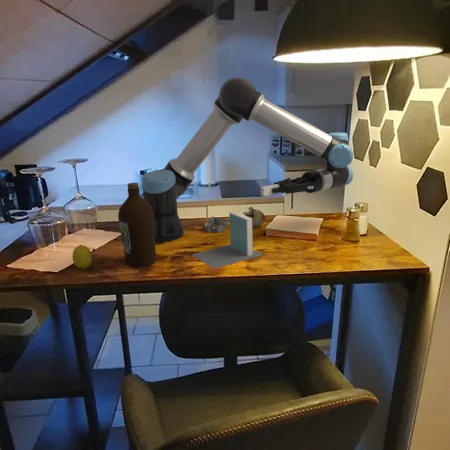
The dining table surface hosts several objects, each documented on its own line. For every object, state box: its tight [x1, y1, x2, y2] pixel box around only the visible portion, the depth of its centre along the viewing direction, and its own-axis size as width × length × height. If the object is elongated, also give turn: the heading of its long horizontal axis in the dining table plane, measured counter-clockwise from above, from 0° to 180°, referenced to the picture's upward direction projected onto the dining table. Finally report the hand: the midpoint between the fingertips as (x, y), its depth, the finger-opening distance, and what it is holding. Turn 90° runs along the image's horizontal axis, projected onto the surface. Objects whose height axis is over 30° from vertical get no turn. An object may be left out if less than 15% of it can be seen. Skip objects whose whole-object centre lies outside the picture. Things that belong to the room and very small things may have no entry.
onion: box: [242, 206, 266, 228], centre depth 156 cm, size 8×8×8 cm
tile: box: [229, 211, 254, 256], centre depth 130 cm, size 2×10×12 cm, turn 32°
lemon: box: [71, 244, 93, 270], centre depth 122 cm, size 6×6×8 cm
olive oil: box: [117, 182, 157, 268], centre depth 124 cm, size 11×11×25 cm
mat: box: [191, 244, 263, 270], centre depth 129 cm, size 18×14×1 cm
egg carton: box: [204, 216, 229, 234], centre depth 156 cm, size 11×8×4 cm
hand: (262, 191), depth 130 cm, fingers closed
